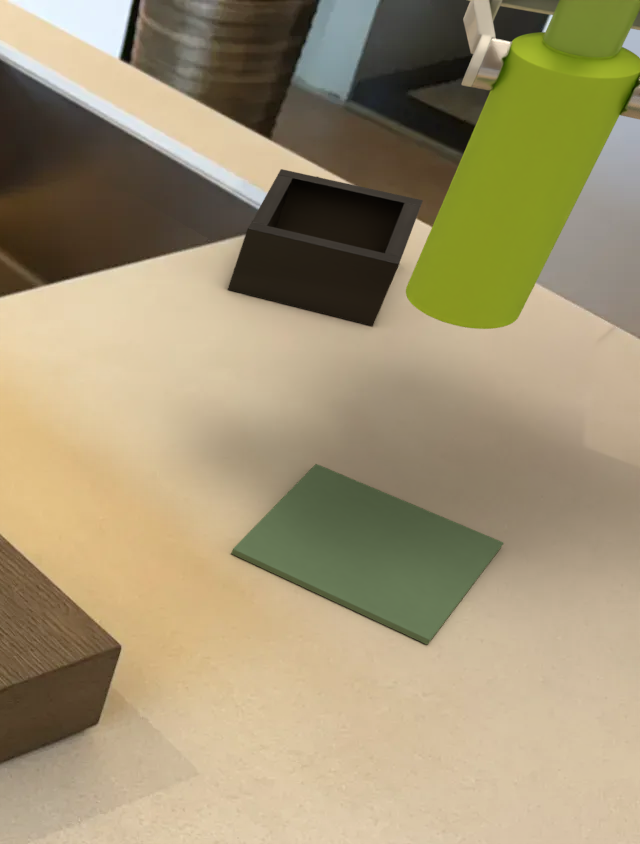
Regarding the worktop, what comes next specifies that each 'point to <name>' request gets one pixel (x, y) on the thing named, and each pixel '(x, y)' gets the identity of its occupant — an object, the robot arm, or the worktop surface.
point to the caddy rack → (325, 246)
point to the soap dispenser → (526, 164)
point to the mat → (369, 552)
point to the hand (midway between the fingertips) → (558, 98)
